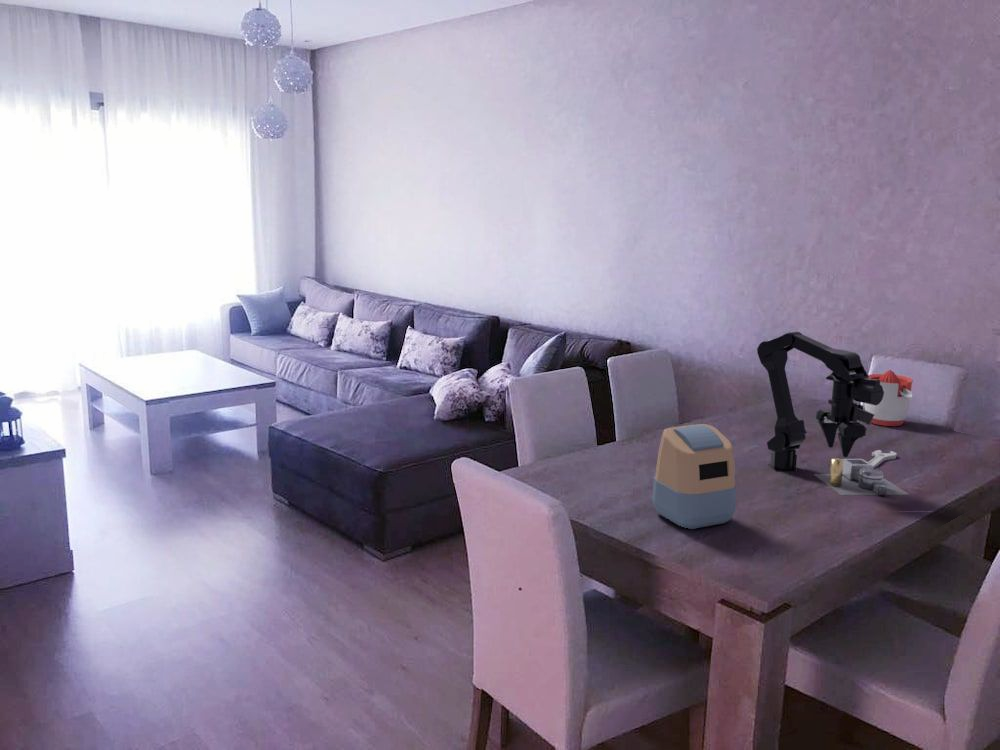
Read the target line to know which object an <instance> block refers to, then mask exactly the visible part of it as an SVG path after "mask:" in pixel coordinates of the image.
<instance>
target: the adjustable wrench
mask: <svg viewBox="0 0 1000 750" xmlns="http://www.w3.org/2000/svg"><path fill="white" fill-rule="evenodd" d="M871 457H873V458H872V459H870V460H869V461H867V462H868V463H870V464H872V465H873V469H875V468H877V467H878V466H879V465H880V464H882V463H883V462H884V461H888V460H895V459H896V458H897V452H896V451H892V450H890V452H888V453H886V452H882V449H881V450H880V449H878V450H874V451H873V452H871Z"/></svg>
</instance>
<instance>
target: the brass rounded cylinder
mask: <svg viewBox="0 0 1000 750" xmlns="http://www.w3.org/2000/svg"><path fill="white" fill-rule="evenodd" d="M830 459H831V460H830V468H829V469H830V472H829V474H830V479H829V485H830V486H833V487H841V483H842V472H843V461H844V460H843V459H844V458H838V457H832V458H830ZM830 486H829V487H830Z"/></svg>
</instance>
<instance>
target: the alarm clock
mask: <svg viewBox="0 0 1000 750" xmlns="http://www.w3.org/2000/svg"><path fill="white" fill-rule="evenodd" d="M660 439H661V440H660V442H659V443H660V444H659V448H658V453H657V461H656V468H655V475H654V477H653V486H652V499H651V502H652V504H653V507H654V509H655V510H656V511H657V513H658V514H659V515H660V516H661V517H663V518H665V519H667V520H668V519H669V521H670V522H672V523H674V524H675V525H677V526H679V527H680V526H681V527H680V528H683V527H684V529H686V528H688V529H687V530H695V529H697V528H704V527H710V526H714V525H716V526H717V525H723V524H725V523H727V522H729V521H730V520H731V519H732V518H733V516H734V513H735V511H736V498H737V485H736V479H735V478H736V475H735V474H736V473H735V471H736V470H735V466H736V465H735V454H734V448H733V444H732V443H731V441H730V440H729V439H728V438H727V437H726V436H725V435H723V434H722V432H720V431H719V430H718V429H717V428H716V427H714V426H713V425H710V424H706V423H698V424H697V423H696V424H690V425H682V426H681V425H680V426H673V427H668V428H664V430H663V431H662V433H661V438H660Z"/></svg>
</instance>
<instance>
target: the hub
mask: <svg viewBox="0 0 1000 750" xmlns="http://www.w3.org/2000/svg"><path fill="white" fill-rule="evenodd" d="M883 478H884V472H883V470H880V469H877V468H861V469H860V471H859V482H858V487H860V488H862V489H865V490H870V491H873V490H872V489H873V484H881V485H882V480H883Z"/></svg>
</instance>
